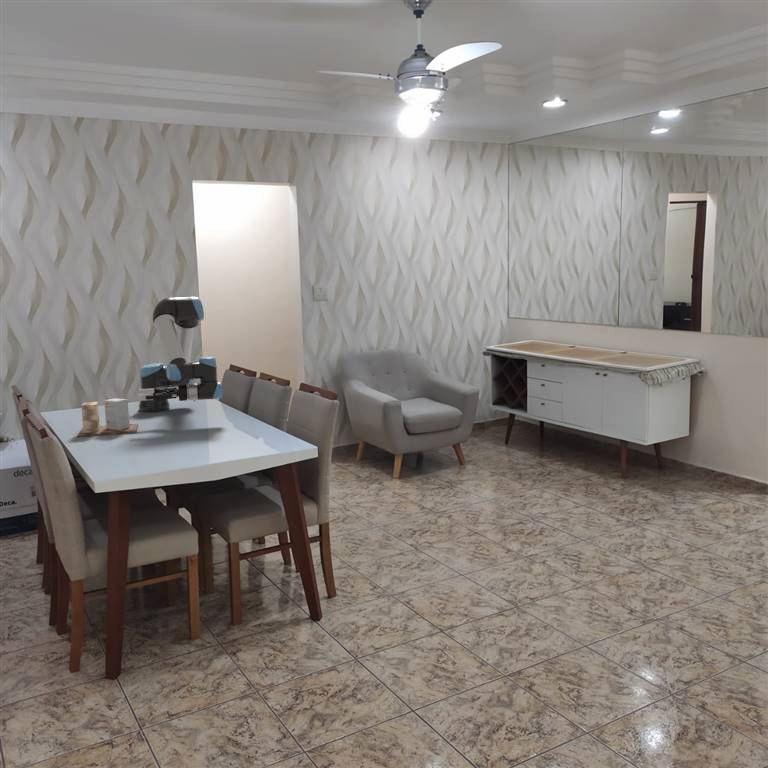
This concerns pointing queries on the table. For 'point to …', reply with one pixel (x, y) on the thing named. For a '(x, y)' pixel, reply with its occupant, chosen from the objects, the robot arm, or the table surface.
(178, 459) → the table surface
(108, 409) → the small box
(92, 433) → the wooden tray with block
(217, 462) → the table surface
